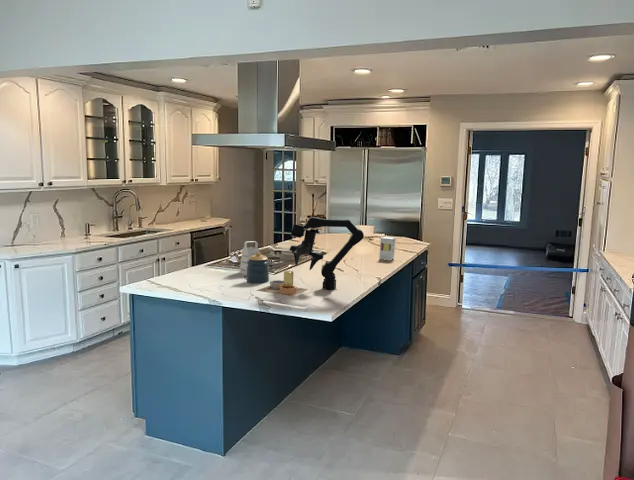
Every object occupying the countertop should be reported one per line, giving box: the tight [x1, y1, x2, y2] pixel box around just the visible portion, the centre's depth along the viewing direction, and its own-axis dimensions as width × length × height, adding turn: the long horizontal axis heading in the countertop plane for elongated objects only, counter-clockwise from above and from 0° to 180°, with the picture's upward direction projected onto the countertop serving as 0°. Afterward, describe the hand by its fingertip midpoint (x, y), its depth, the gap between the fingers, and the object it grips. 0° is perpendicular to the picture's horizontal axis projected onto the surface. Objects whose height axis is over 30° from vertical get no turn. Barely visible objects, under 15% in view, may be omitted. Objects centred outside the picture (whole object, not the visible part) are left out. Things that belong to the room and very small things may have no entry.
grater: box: [239, 240, 260, 277], centre depth 318 cm, size 10×10×20 cm
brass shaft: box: [283, 270, 294, 288], centre depth 269 cm, size 5×5×11 cm
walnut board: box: [256, 285, 309, 297], centre depth 275 cm, size 22×18×1 cm
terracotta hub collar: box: [280, 285, 298, 295], centre depth 270 cm, size 8×8×3 cm
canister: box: [245, 251, 270, 284], centre depth 294 cm, size 13×13×18 cm
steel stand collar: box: [269, 279, 284, 289], centre depth 280 cm, size 8×8×3 cm
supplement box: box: [378, 236, 396, 261], centre depth 385 cm, size 10×9×17 cm
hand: (303, 267), depth 280 cm, fingers open, 9 cm apart
